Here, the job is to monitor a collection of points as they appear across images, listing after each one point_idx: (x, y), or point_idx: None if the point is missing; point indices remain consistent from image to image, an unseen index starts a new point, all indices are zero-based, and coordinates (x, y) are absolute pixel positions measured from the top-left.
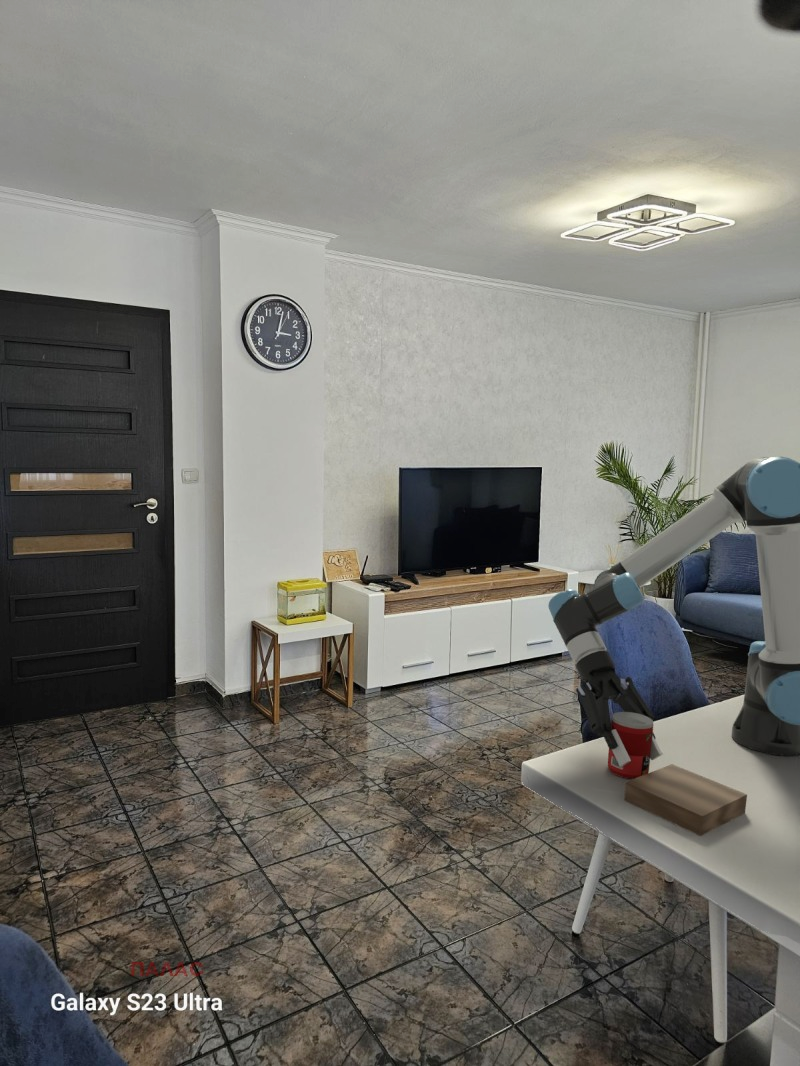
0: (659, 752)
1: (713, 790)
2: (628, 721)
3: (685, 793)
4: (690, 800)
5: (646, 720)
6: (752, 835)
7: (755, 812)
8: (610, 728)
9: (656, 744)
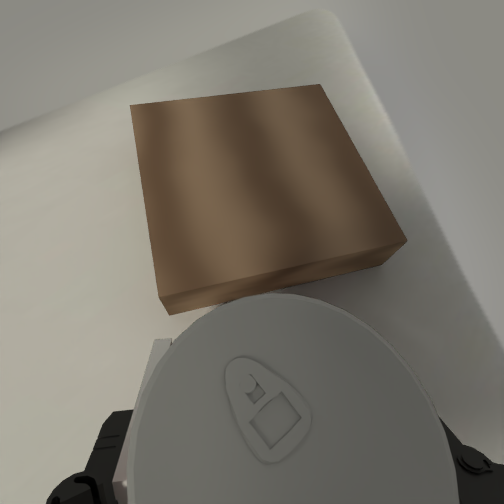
0: (164, 345)
1: (195, 139)
2: (342, 430)
3: (282, 149)
4: (295, 126)
5: (187, 400)
6: (211, 95)
7: (115, 138)
8: (456, 453)
9: (152, 370)
